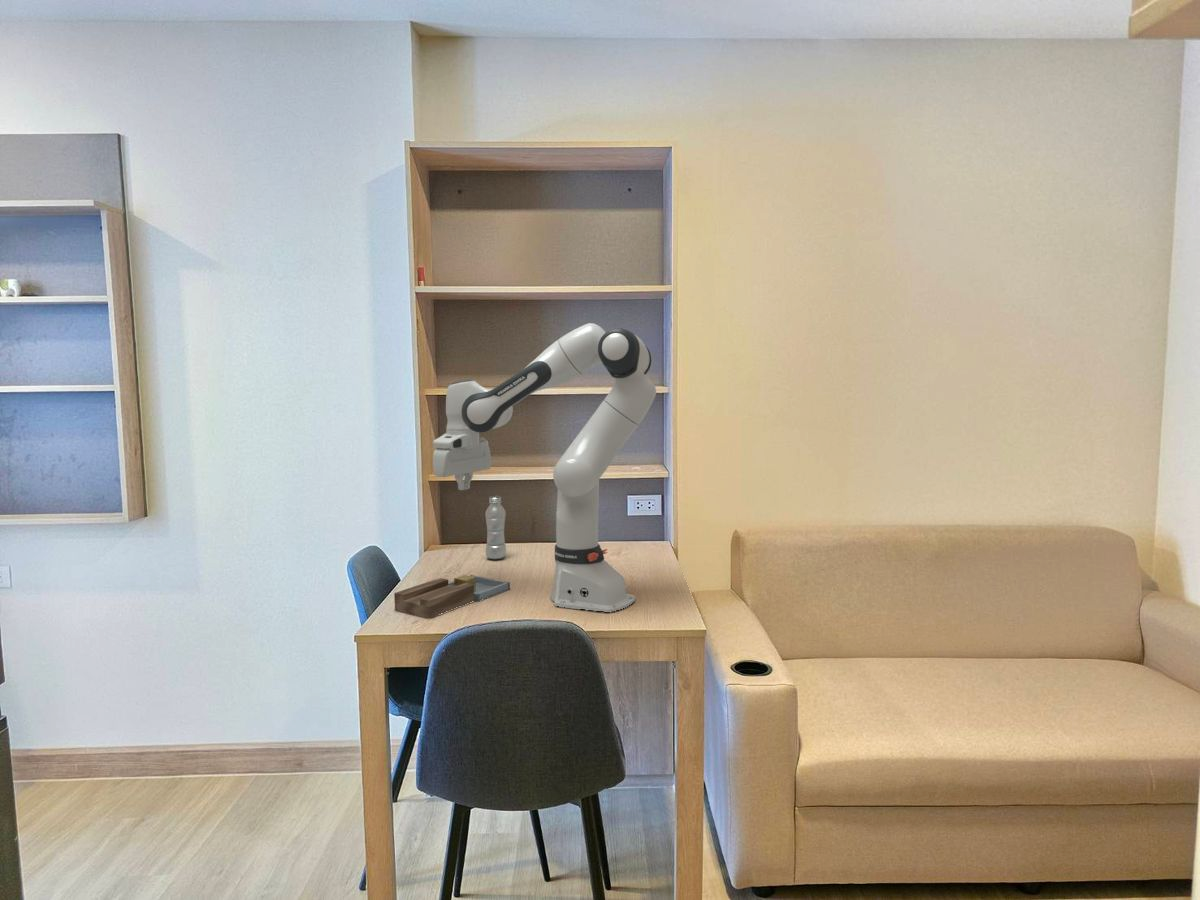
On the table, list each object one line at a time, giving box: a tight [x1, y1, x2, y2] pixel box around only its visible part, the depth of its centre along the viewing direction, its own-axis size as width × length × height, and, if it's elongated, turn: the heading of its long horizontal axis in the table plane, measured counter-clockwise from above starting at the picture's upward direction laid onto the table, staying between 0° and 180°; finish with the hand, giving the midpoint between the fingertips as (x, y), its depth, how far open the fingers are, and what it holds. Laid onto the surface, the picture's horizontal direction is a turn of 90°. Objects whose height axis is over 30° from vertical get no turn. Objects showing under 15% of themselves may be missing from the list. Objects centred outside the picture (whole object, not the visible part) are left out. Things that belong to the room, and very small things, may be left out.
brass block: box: [453, 574, 476, 592], centre depth 200 cm, size 4×4×4 cm
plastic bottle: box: [484, 495, 507, 560], centre depth 236 cm, size 6×7×20 cm
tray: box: [448, 574, 511, 602], centre depth 202 cm, size 14×13×2 cm
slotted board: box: [393, 577, 475, 619], centre depth 189 cm, size 12×16×4 cm
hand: (464, 489), depth 205 cm, fingers closed
